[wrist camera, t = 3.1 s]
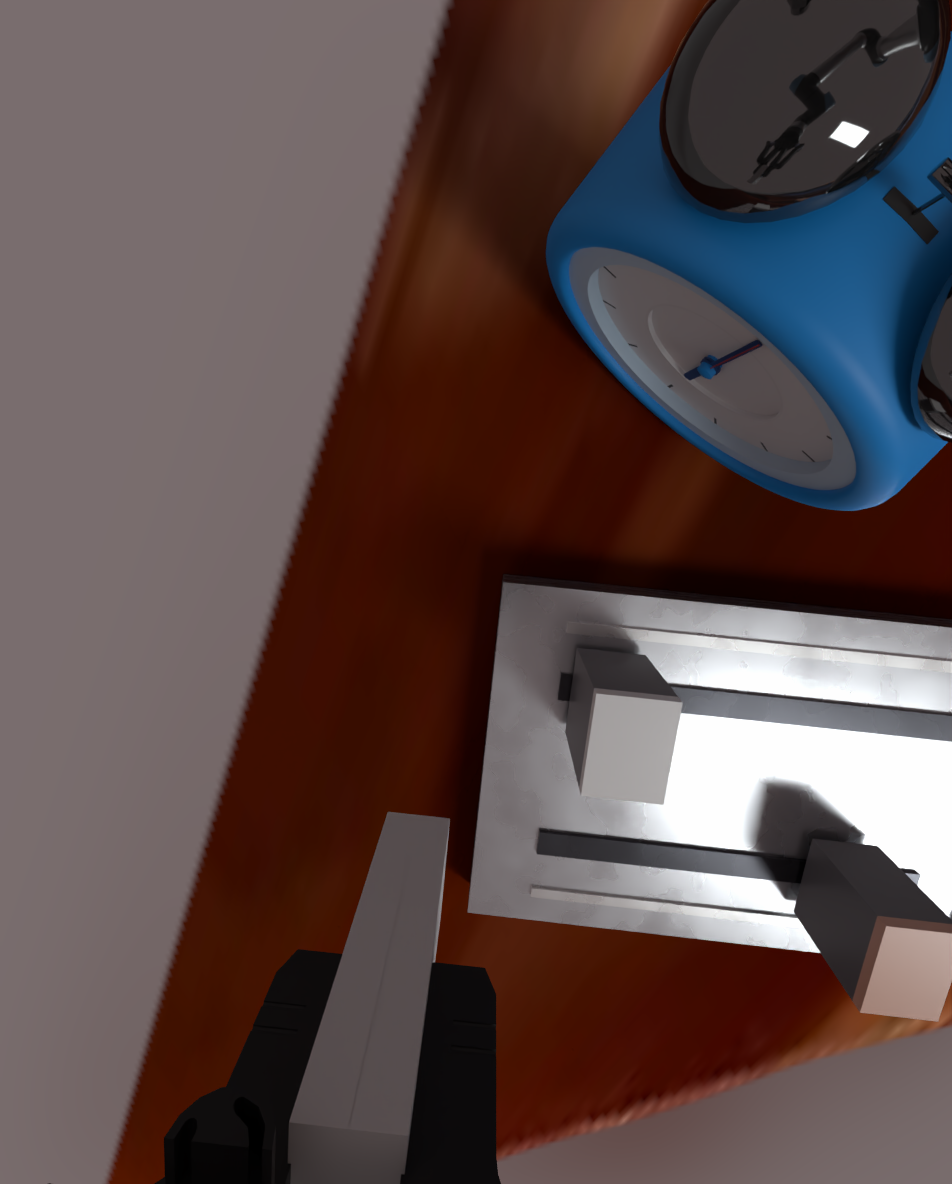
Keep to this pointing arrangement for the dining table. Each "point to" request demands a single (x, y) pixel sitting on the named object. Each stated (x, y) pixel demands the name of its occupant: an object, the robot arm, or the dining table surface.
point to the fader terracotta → (876, 930)
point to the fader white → (621, 726)
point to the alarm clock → (782, 245)
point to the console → (713, 760)
